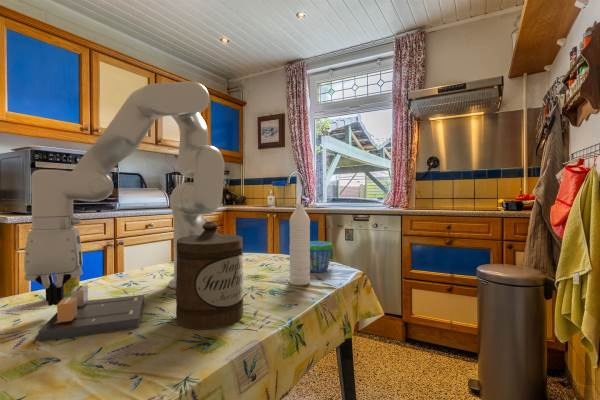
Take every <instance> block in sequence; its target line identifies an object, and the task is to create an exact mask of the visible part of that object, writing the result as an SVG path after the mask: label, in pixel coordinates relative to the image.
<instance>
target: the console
mask: <svg viewBox="0 0 600 400" xmlns="http://www.w3.org/2000/svg"><path fill="white" fill-rule="evenodd" d="M144 306H145V294H139V295H130V296H129V295H128V296H120V297H118V296H117V297H111V298H110V297H109V298H100V299H91V300H89V299H88V301H87V302H86V303H85V305H84V306H77V315H76V316H75V317H74V319H73V320H72V321H67V322H59V323H57V312H55V314H54V315H53V316H52V317H51V318H50V319H49V320H48V321H47V322H46V323H45V324H44V325H43V326H42V327H41V328H40V329H39V330H38V342H39V343H40V342H45V341H46V342H49V341H54V340H63V339H68V338H76V337H82V336H91V335H97V334H103V333H104V334H105V333H111V332H117V331H126V330H133V329H138V328H139V325H140V321H141V317H142V314H143V309H144Z"/></svg>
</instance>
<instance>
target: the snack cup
mask: <svg viewBox="0 0 600 400" xmlns="http://www.w3.org/2000/svg"><path fill="white" fill-rule="evenodd" d="M334 256H335V255H334V248H333V244H332V242H329V241H323V240H313V241H311V240H310V273H315V274H316V273H317V274H318V273H326V272H328V270H329V263H330V259H331V260H332V259H333V258H334Z"/></svg>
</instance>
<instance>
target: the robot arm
mask: <svg viewBox="0 0 600 400" xmlns="http://www.w3.org/2000/svg"><path fill="white" fill-rule="evenodd" d="M208 91H209V90H207V88H206V87H205V86H204V85H203V84H202V83H199V82H197V81H179V82H178V81H174V82H158V83H149V84H146V85H144V86H143V87H140V88H138V89H136V90H134V91H133V92H132V93H130V95H129V96H127V98H126V100H125V101H124V102H123V104H122V105H121V107H120V108H119V110H118V111H117V112H116V114H115V116H114V117H113V119H112V120H111V121H110V122H109V124H108V126H107V127H106V128H105V130H104V131H103V132H102V133H101V134H100V135H99V136H98V137H97V139H96V140H95V142H94V143H93V144H92V145H91V146H90V148H88V149H87V151H85V153H84V154H83V156H82V157H81V158H80V160H79V161H77V164H76V165H75V166H74V168H73V169H72V171H67V170H64V169H63V170H60V169H37V170H35V171H33V172H32V174H31V177H30V182H31V183H30V185H31V186H30V187H31V191H30V192H31V195H30V196H31V230H29V231H28V233H27V236H26V243H25V247H24V248H25V249H24V250H25V251H24V256H23V257H24V260H23V261H24V263H23V269H24V270H23V271H24V273H25V275H24V280H25V281H28V282H37V283H38V284H39V285H41V286H42V288H43V289H45V302H48V303H47V304H48V306H49V307H52V306H53V305H54V306H57V305H58V304H59V303H60V302H61V301H62V300H63V298H64V284H65V283H66V282H67V281H68V280H69V279H71V278H75V277H78V276H79V277H80V276H82V275H83V273H84V272H83V270H82V266H83V263H84V262H83V260H84V259H83V250H82V241H81V237H80V236H81V235H80V231H79V228H75V226H77V225H81V223H82V221H81V220H82V219H81V218H77V217H76V216H75V215H74V201H75V200H76V201H84V202H100V201H103V200H105V199H107V198H109V197H110V196H111V195H112V193H113V191H114V188H115V187H114V181H113V180H112V178H111V177H110V173H111V172H112V170H113V169H114V168H115V167H116V166H117V165H118V164H119V163H120V162H122V161H123V160H125V159H126V158H128V157H130V156H131V155H132V154H133V153H134V152H136V151H137V149H138V148H139V147H140V146H141V144H142V142H143V140H144V139H145V137H146V136H147V134H148V132H149V131H150V129H151V128H152V127H153V126H154V123H155V122H156V120H158V119H160V118H163V117H168V116H169V117H170V116H171V117H172V119H173V120H174V122H175V123H176V124H177V126H178V129H179V143H178V144H179V145H178V157H177V169H178V172H179V173H180V175H182V176H183V177H185V178H189V179H193V182H189V181H188V182H182V183H180V184H177V186H176V187H174V188H173V190H172V192H171V194H170V207H171V213H172V219H173V220H172V221H173V222H172V223H173V279H172V278H171V280H169V281H168V287H169V288H170V289H174V290H176V279H177V240H178V239H179V238H182V237H187V236H194V235H201V234H202V233H203V231H204V229H203V228H202V226H203V224H204V223H206V219H205V216H204V215H211V214H214V213H215V212H216V211H217V210H218V209H220V206H221V204H222V200H223V193H224V192H223V191H224V190H223V189H224V180H225V160H224V157H223V154H222V152H221V151H220V150H219V149H218V148H217V147H215V146H213V145H209V129H208V125H207V123H206V121H205V119H203V117H202V115H201V114H200V113H202V112H204V111H205V110H206V109H207V108H208V107H209V104H210V100H211V98H210V94H209V92H208ZM67 273H68V274H67ZM55 274H57V280H56V284H55V281H54V278H53V277H54V276H53V275H55Z"/></svg>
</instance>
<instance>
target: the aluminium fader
mask: <svg viewBox="0 0 600 400" xmlns="http://www.w3.org/2000/svg"><path fill="white" fill-rule="evenodd" d="M88 287H89V286H88V285H79V286H76V287H75V288H74V289H73V290H72V291H71V298H76V297H77V306H84V305H85V303H86V302H87V301H89V297H88V296H89V294H88V293H89V292H88V291H89V290H88V289H89V288H88Z"/></svg>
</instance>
